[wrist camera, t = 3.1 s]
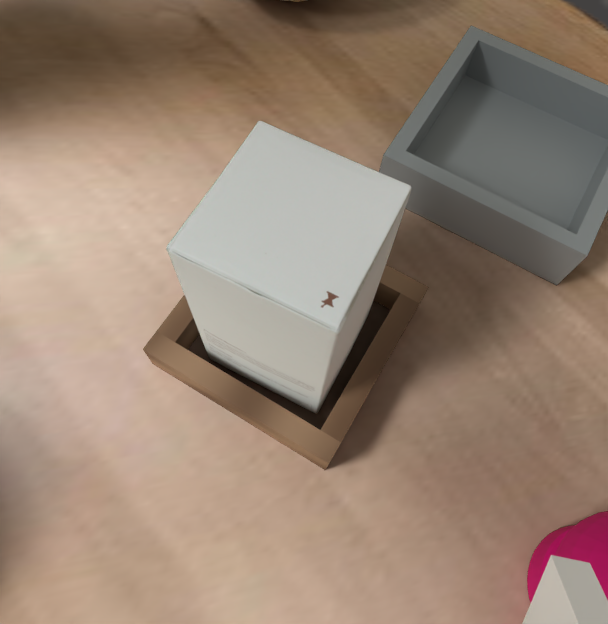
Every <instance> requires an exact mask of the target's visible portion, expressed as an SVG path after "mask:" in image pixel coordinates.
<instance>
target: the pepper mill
mask: <svg viewBox="0 0 608 624" xmlns="http://www.w3.org/2000/svg"><path fill="white" fill-rule="evenodd" d="M551 555H554V556H559V557H564V558H568V559H573V560H578V561H583V562H588V563H590V564H591V566H592V569H593V571H594V573H595V575H596V577H597V579H598V581H599V583H600V585H601V587H602V589H603V592H604V594H605V596H606V598H607V600H608V511H606V512H600V513H597V514H594V515H592V516H589V517H587V518H586V519H584V520H582V521H580V522H579V523H578V524H576V525H573V526H566V527H563V528H560V529H558V530H556V531H554V532H552V533H550V534H549V535H547V536H546V537H545V538H544V539H543V540H542V541H541V543H540V544H539V545H538V547H537V548H536V549H535V551H534V553H533V555H532V558H531V561H530V564H529V569H528V578H527V583H528V594H529V599H530V603H531V602H532V599H533V597H534V595H535V592H536V590H537V587H538V585H539V583H540V580H541V578H542V575H543V573H544V571H545V568H546V566H547V563H548V561H549V559H550V556H551Z"/></svg>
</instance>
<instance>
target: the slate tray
mask: <svg viewBox="0 0 608 624" xmlns="http://www.w3.org/2000/svg"><path fill="white" fill-rule="evenodd" d="M379 172H380V173H382V174H384V175H387V176H389V177H392V178H394V179H396V180H399V181H401V182H404V183H406V184H408V185H410V186H411V193H410V196H409V199H408V202H407V205H406V209H408V210H410V211H412V212H414V213H416V214H418V215H420V216H422V217H424V218H426V219H428V220H430V221H431V222H433V223H435V224H437V225H439V226H441V227H443V228H445V229H447V230H449V231H451V232H453V233H455V234H457V235H459V236H461V237H463V238H465V239H467V240H469V241H471V242H473V243H475V244H477V245H479V246H481V247H482V248H484V249H486V250H488V251H490V252H492V253H494V254H496V255H498V256H500V257H502V258H504V259H506V260H508V261H510V262H512V263H514V264H516V265H518V266H520V267H522V268H524V269H526V270H528V271H530V272H531V273H533V274H535V275H537V276H539V277H541V278H543V279H545V280H547V281H549V282H551V283H553V284H555V285H557V284H559V283H560V282H561V281H562V280H563V279H564V278H565V277H566V276H567V275H568V274H569V273H570V272H571V271H572V270H573V269H574V268H575V267H576V266H577V265H578V264H579V263H580V262H581V261H583V260H584V259H585V258H586V257H587V256H588V253H589V251H590V249H591V247H592V244H593V242H594V240H595V238H596V235H597V233H598V231H599V229H600V226H601V224H602V222H603V220H604V217H605V215H606V213H607V211H608V85H606V84H604V83H601V82H599V81H597V80H595V79H592V78H590V77H588V76H585V75H583V74H581V73H579V72H576V71H574V70H572V69H569V68H567V67H565V66H563V65H560V64H558V63H556V62H553V61H551V60H549V59H547V58H544V57H542V56H540V55H537V54H535V53H533V52H531V51H528V50H526V49H524V48H521V47H519V46H517V45H515V44H512V43H510V42H508V41H505V40H503V39H501V38H499V37H496V36H494V35H492V34H489V33H487V32H485V31H483V30H480V29H478V28H476V27H473V26H470V28H469V29H468V31H467V32H466V34H465V35H464V37H463V38H462V40H461V41H460V43H459V44H458V46H457V47H456V49H455V50H454V52H453V53H452V54H451V56H450V57H449V59H448V60H447V62H446V63H445V65H444V66H443V68H442V69H441V71H440V72H439V74H438V75H437V77H436V78H435V80H434V81H433V83H432V84H431V86H430V87H429V88H428V90H427V91H426V93H425V94H424V96H423V97H422V99H421V100H420V102H419V103H418V105H417V106H416V108H415V109H414V111H413V112H412V114H411V115H410V117H409V118H408V119H407V121H406V122H405V124H404V125H403V127H402V128H401V130H400V131H399V133H398V134H397V136H396V137H395V139H394V140H393V142H392V143H391V145H390V146H389V148H388V149H387V150H386V152H385V153H384V155H383V159H382V163H381V166H380V170H379Z"/></svg>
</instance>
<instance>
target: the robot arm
mask: <svg viewBox="0 0 608 624" xmlns="http://www.w3.org/2000/svg"><path fill="white" fill-rule="evenodd" d="M522 624H608V600H607V598H606V596H605V594H604V592H603V589H602V587H601V585H600V583H599V581H598V579H597V577H596V575H595V573H594V571H593V569H592V566H591V564H590V563H588V562H583V561H578V560H573V559H568V558H564V557H559V556H554V555H551V556H550V559H549V561H548V563H547V566H546V568H545V571H544V573H543V575H542V578H541V580H540V583H539V585H538V587H537V590H536V592H535V595H534V597H533V599H532V602H531V604H530V606H529V609H528V611H527V614H526V616H525V618H524V621H523V623H522Z"/></svg>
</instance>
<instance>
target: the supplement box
mask: <svg viewBox="0 0 608 624" xmlns="http://www.w3.org/2000/svg"><path fill="white" fill-rule="evenodd" d="M410 193H411V186H410V185H408V184H406V183H404V182H401V181H399V180H396V179H394V178H392V177H389V176H387V175H384V174H382V173H380V172H378V171H375V170H373V169H370V168H368V167H366V166H363V165H361V164H359V163H356V162H354V161H352V160H350V159H347V158H345V157H343V156H341V155H338V154H336V153H334V152H331V151H329V150H327V149H324V148H322V147H320V146H317V145H315V144H313V143H310V142H308V141H306V140H304V139H301V138H299V137H297V136H294V135H292V134H290V133H288V132H285V131H283V130H281V129H278V128H276V127H274V126H272V125H269V124H267V123H265V122H263V121H258V123H257V124H256V126H255V127H254V128H253V130H252V131H251V133H250V134H249V135H248V137H247V138H246V140H245V141H244V142H243V144H242V145H241V147H240V148H239V149H238V151H237V152H236V154H235V155H234V157H233V158H232V159H231V161H230V162H229V164H228V165H227V166H226V168H225V169H224V171H223V172H222V174H221V175H220V176H219V178H218V179H217V180H216V182H215V183H214V184H213V186H212V187H211V188H210V190H209V191H208V192H207V194H206V195H205V196H204V198H203V199H202V200H201V201H200V203H199V204H198V205H197V207H196V208H195V209H194V211H193V212H192V213H191V215H190V216H189V217H188V219H187V220H186V221H185V223H184V224H183V225H182V227H181V228H180V229H179V231H178V232H177V233H176V235H175V236H174V237H173V239H172V240H171V241H170V242H169V244H168V245H167V251H168V254H169V256H170V258H171V261H172V264H173V266H174V269H175V271H176V274H177V276H178V279H179V281H180V284H181V287H182V289H183V292H184V294H185V297H186V300H187V302H188V305H189V307H190V310H191V313H192V315H193V318H194V320H195V323H196V325H197V328H198V331H199V333H200V336H201V338H202V341H203V344H204V346H205V349H206V351H207V354H208V357H209V358H210V359H211V360H213V361H215V362H217V363H219V364H221V365H222V366H224V367H226V368H228V369H230V370H232V371H234V372H236V373H238V374H239V375H241V376H243V377H245V378H247V379H249V380H251V381H253V382H255V383H257V384H259V385H261V386H263V387H265V388H267V389H269V390H271V391H273V392H275V393H277V394H279V395H280V396H282V397H284V398H286V399H288V400H290V401H292V402H294V403H296V404H298V405H300V406H302V407H304V408H306V409H308V410H310V411H312V412H314V413H318V411H319V410H320V408H321V406H322V404H323V402H324V400H325V398H326V397H327V395H328V393H329V391H330V389H331V387H332V385H333V383H334V382H335V380H336V378H337V376H338V374H339V372H340V370H341V368H342V367H343V365H344V363H345V361H346V359H347V357H348V355H349V353H350V351H351V349H352V347H353V345H354V343H355V341H356V339H357V337H358V335H359V333H360V331H361V329H362V327H363V325H364V323H365V321H366V319H367V317H368V315H369V312H370V309H371V306H372V303H373V300H374V297H375V294H376V291H377V288H378V285H379V283H380V280H381V277H382V274H383V271H384V268H385V265H386V263H387V260H388V257H389V254H390V252H391V249H392V246H393V243H394V240H395V237H396V234H397V231H398V228H399V225H400V222H401V219H402V216H403V213H404V211H405V208H406V205H407V202H408V199H409V196H410Z"/></svg>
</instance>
